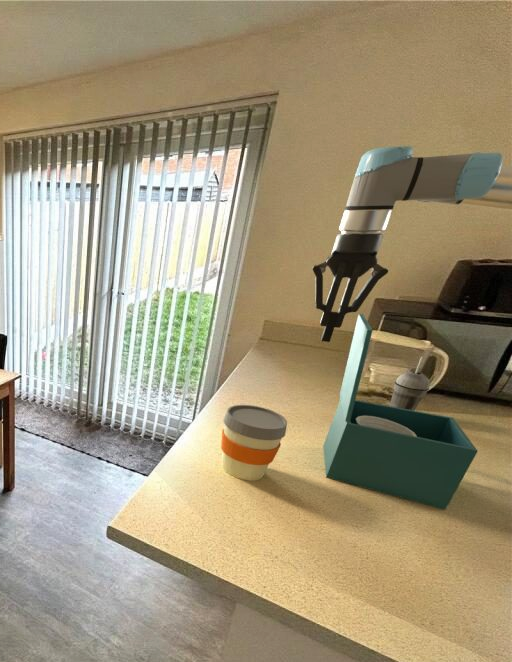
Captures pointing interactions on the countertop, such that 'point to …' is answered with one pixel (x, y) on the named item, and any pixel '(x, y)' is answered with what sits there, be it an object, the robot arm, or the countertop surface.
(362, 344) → the lid
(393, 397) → the beverage cup
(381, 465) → the lidded box
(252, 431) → the reusable coffee cup
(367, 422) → the plastic cup
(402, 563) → the countertop surface
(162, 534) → the countertop surface
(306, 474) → the countertop surface
